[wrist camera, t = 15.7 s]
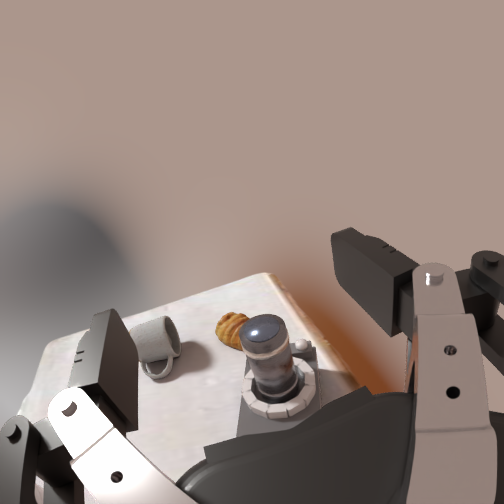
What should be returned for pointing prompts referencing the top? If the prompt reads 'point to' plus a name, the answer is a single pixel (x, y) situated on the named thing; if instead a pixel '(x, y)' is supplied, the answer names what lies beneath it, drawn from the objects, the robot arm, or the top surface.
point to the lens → (270, 357)
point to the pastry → (231, 329)
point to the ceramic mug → (156, 343)
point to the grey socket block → (286, 414)
